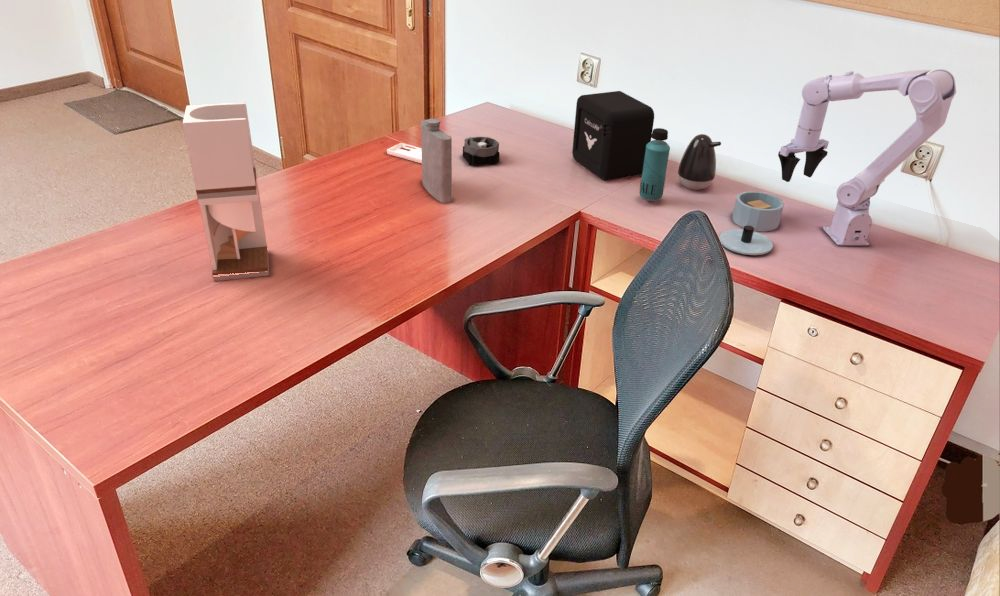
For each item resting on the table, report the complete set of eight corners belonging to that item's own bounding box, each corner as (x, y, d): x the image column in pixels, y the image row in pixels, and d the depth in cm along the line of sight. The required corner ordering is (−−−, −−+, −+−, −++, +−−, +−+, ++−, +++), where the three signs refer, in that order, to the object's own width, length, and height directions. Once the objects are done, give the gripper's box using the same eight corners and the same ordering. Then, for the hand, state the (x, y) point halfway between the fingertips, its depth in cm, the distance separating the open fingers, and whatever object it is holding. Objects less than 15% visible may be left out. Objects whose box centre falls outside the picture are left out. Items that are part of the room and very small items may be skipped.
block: (768, 221, 195) (771, 206, 193) (755, 224, 194) (758, 209, 191) (756, 215, 199) (759, 199, 196) (743, 217, 197) (746, 202, 195)
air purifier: (567, 159, 229) (573, 93, 218) (609, 152, 234) (616, 88, 224) (602, 184, 213) (610, 115, 203) (646, 177, 219) (655, 109, 208)
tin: (787, 228, 193) (793, 207, 190) (748, 233, 190) (753, 212, 187) (761, 209, 203) (766, 189, 200) (723, 214, 199) (727, 193, 196)
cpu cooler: (502, 146, 220) (469, 149, 217) (502, 165, 223) (469, 167, 220) (492, 134, 228) (460, 136, 226) (492, 152, 231) (460, 155, 229)
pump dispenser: (703, 197, 208) (714, 144, 200) (669, 187, 213) (678, 135, 205) (719, 185, 215) (729, 134, 207) (685, 176, 220) (694, 125, 212)
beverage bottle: (661, 196, 208) (672, 126, 197) (663, 207, 202) (674, 134, 191) (637, 195, 208) (647, 124, 197) (638, 205, 202) (648, 133, 192)
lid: (782, 253, 182) (787, 236, 179) (737, 260, 178) (741, 242, 176) (752, 230, 192) (756, 213, 189) (708, 236, 188) (712, 219, 186)
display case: (213, 281, 163) (182, 122, 144) (215, 257, 171) (186, 105, 153) (268, 275, 165) (245, 119, 147) (268, 252, 174) (245, 102, 155)
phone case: (386, 153, 228) (426, 165, 221) (385, 149, 227) (426, 160, 220) (401, 146, 233) (441, 157, 227) (401, 142, 232) (441, 153, 226)
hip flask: (453, 202, 200) (453, 129, 190) (439, 204, 199) (438, 131, 188) (431, 179, 212) (430, 109, 202) (417, 181, 211) (415, 111, 200)
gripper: (818, 118, 194) (805, 168, 201) (776, 125, 188) (764, 176, 195) (840, 127, 188) (826, 178, 195) (797, 134, 182) (784, 187, 190)
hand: (796, 178), depth 195 cm, fingers open, 7 cm apart
